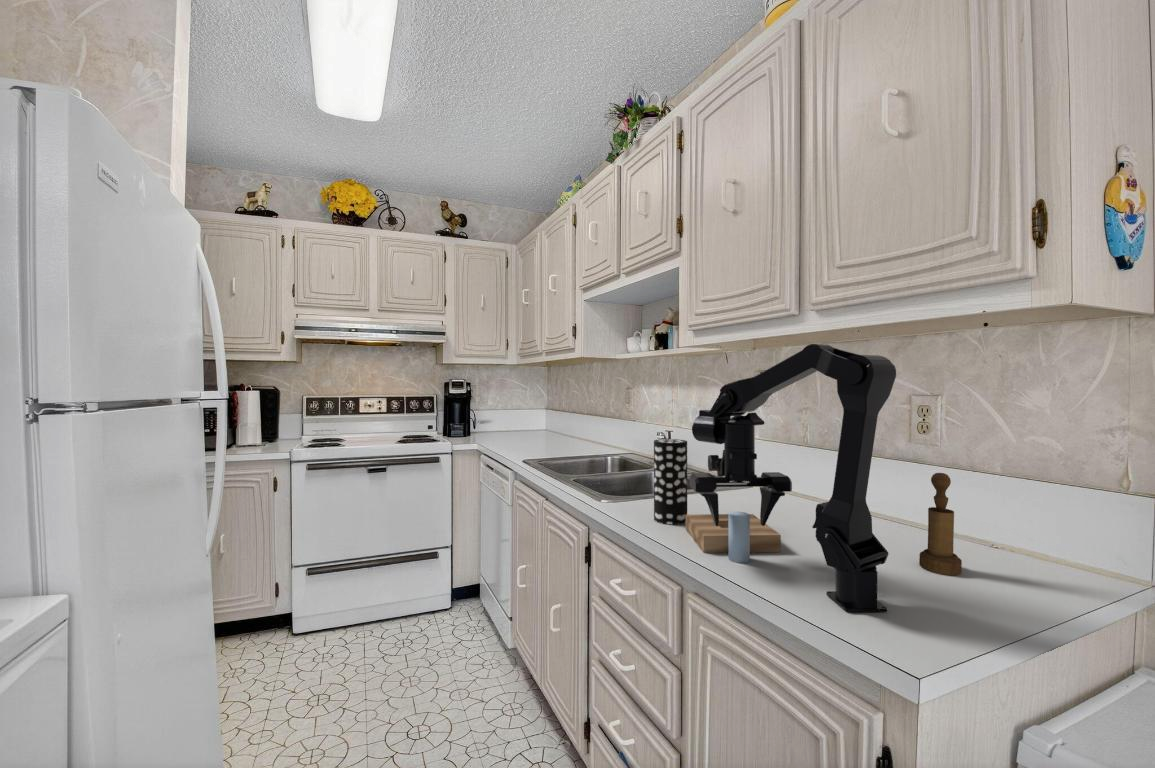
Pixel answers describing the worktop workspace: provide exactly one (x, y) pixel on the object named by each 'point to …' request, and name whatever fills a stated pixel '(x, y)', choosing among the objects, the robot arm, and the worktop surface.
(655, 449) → the spotted tube
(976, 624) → the worktop surface
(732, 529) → the peg
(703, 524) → the socket board
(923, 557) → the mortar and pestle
